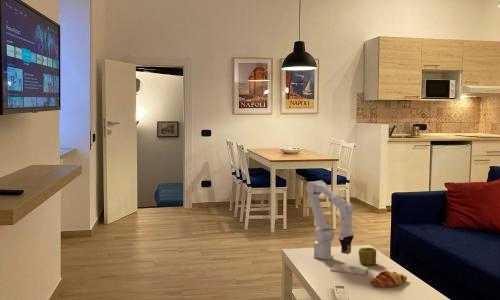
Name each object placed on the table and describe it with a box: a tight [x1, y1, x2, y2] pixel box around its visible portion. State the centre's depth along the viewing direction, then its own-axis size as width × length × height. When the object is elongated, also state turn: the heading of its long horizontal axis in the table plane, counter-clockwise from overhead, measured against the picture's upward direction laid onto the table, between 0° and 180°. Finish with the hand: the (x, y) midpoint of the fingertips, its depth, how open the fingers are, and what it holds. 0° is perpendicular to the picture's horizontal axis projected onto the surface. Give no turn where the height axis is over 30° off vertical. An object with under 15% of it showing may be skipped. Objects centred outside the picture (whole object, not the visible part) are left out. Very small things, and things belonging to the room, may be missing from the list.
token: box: [340, 244, 352, 255], centre depth 253 cm, size 4×4×4 cm
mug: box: [358, 246, 377, 266], centre depth 257 cm, size 12×10×10 cm
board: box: [330, 262, 369, 276], centre depth 247 cm, size 18×11×1 cm, turn 68°
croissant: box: [369, 270, 408, 288], centre depth 227 cm, size 21×10×8 cm, turn 112°
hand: (346, 249), depth 254 cm, fingers closed on token, 4 cm apart
